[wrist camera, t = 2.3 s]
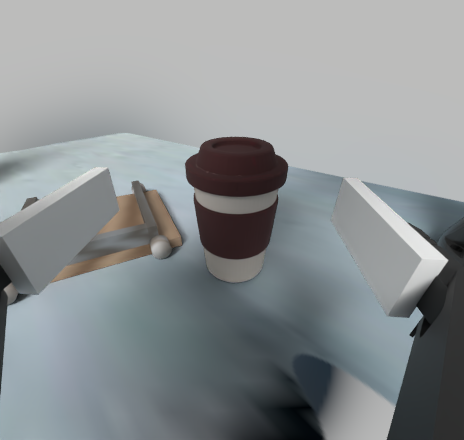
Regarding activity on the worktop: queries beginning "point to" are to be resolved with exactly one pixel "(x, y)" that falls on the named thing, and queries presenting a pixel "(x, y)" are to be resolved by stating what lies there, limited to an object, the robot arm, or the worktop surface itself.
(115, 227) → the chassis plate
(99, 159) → the worktop surface
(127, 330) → the worktop surface
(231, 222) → the coffee cup
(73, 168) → the worktop surface
